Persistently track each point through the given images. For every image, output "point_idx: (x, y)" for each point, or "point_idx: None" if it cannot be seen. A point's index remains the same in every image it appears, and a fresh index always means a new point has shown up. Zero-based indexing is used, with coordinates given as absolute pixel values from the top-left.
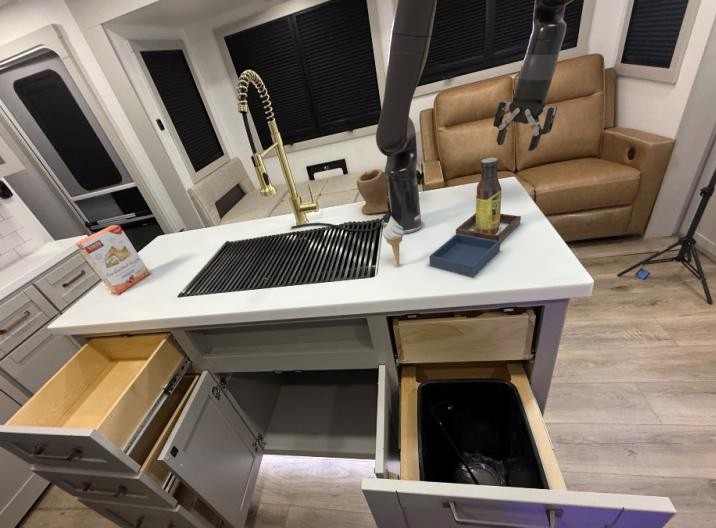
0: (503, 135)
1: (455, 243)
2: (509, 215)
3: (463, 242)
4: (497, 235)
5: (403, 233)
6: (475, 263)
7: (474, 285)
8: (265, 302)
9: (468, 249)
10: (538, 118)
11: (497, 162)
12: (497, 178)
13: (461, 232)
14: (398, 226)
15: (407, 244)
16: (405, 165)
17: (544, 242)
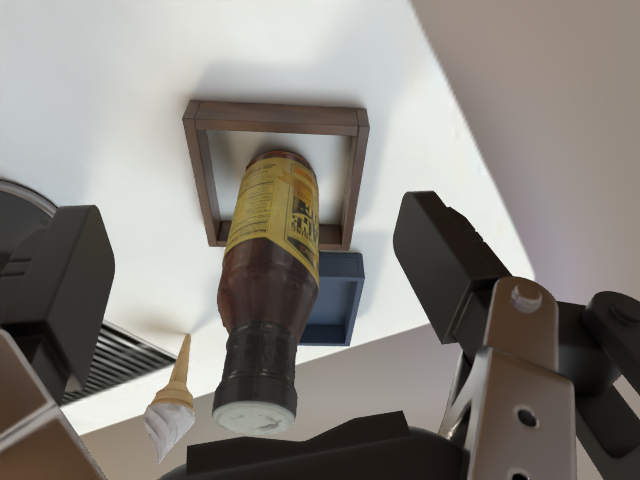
0: (87, 315)
1: None
2: (325, 130)
3: None
4: (343, 247)
5: (192, 412)
6: (348, 339)
7: (359, 334)
8: (93, 421)
9: None
10: (553, 467)
11: (296, 406)
12: (299, 328)
13: None
14: (180, 433)
15: (123, 282)
16: None
17: (459, 192)
